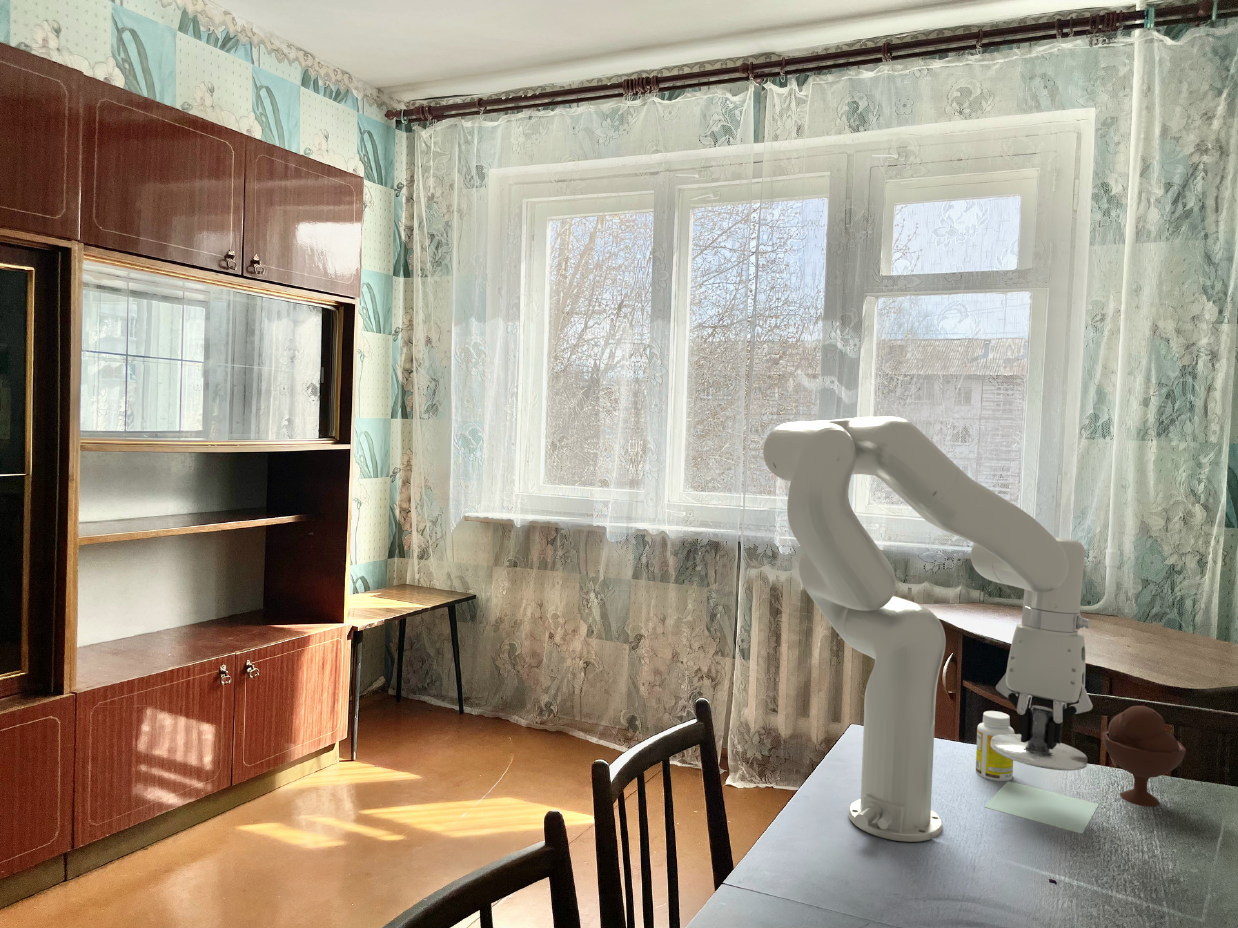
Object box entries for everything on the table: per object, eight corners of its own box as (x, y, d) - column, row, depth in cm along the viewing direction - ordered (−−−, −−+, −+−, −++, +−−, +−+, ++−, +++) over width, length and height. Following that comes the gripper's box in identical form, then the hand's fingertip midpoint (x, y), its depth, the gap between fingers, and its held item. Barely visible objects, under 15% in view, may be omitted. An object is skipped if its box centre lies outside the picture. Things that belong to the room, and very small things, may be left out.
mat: (1081, 836, 123) (1082, 833, 123) (984, 809, 130) (984, 806, 130) (1099, 806, 133) (1099, 803, 133) (1007, 783, 141) (1007, 780, 141)
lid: (1077, 777, 122) (1081, 729, 122) (979, 751, 130) (983, 706, 130) (1094, 755, 132) (1098, 711, 132) (1003, 733, 140) (1007, 690, 140)
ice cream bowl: (1198, 817, 130) (1204, 717, 129) (1121, 814, 130) (1127, 714, 129) (1156, 788, 140) (1161, 695, 140) (1085, 786, 141) (1090, 693, 140)
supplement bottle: (1020, 780, 142) (1023, 717, 142) (995, 785, 140) (998, 721, 139) (991, 768, 147) (994, 707, 147) (967, 772, 145) (970, 711, 144)
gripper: (1116, 628, 129) (1104, 753, 129) (998, 608, 139) (988, 724, 139) (1107, 634, 123) (1095, 765, 123) (985, 613, 133) (974, 734, 133)
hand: (1038, 742), depth 131 cm, fingers closed on lid, 3 cm apart
